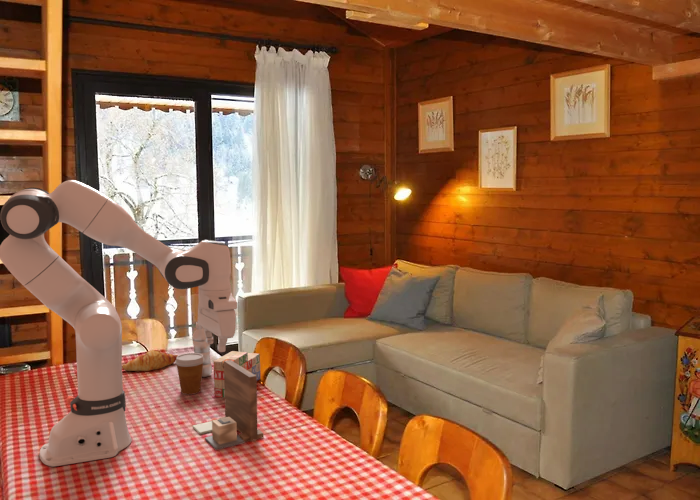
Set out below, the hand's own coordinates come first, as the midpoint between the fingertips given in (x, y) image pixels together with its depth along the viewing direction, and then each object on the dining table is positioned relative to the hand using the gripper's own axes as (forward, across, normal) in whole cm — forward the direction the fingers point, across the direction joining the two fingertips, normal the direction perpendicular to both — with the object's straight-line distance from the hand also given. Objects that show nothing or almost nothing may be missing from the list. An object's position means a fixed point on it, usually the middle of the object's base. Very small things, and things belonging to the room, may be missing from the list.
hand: (215, 347), depth 173 cm
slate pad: (+24, +7, 0) cm, 25 cm away
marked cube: (+24, +7, 0) cm, 25 cm away
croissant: (+25, -72, 0) cm, 76 cm away
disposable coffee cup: (+25, -37, +5) cm, 45 cm away
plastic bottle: (+25, -50, +13) cm, 57 cm away
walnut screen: (+24, +2, +7) cm, 25 cm away
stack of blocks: (+25, -32, +20) cm, 45 cm away
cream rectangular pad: (+24, -4, -1) cm, 25 cm away
